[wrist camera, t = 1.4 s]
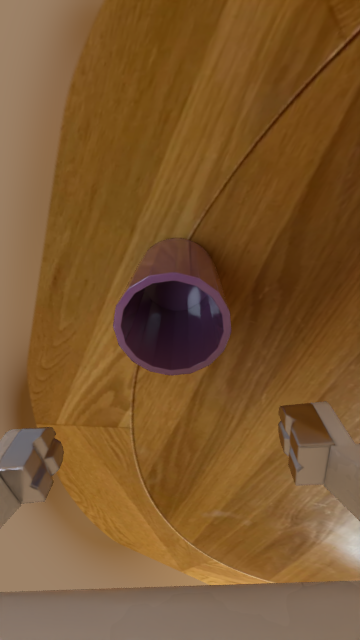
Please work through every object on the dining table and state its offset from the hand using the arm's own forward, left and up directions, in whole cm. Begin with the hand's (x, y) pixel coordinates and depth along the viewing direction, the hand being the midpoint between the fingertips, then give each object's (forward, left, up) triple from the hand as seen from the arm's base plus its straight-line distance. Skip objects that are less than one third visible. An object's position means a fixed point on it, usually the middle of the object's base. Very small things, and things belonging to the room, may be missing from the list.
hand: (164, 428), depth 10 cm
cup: (0, 0, -16) cm, 16 cm away
